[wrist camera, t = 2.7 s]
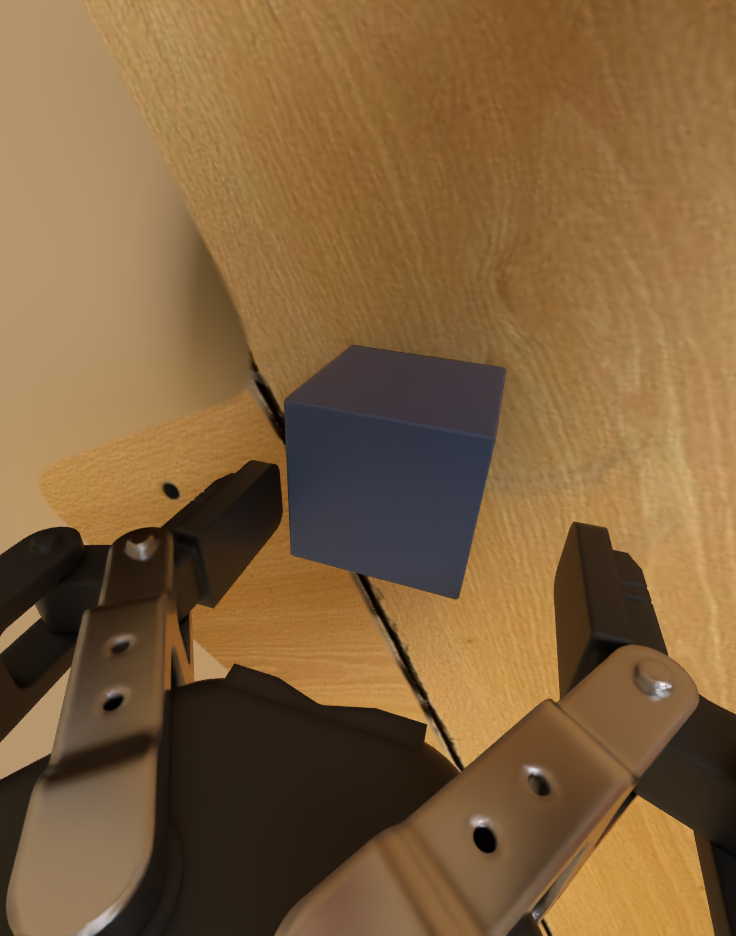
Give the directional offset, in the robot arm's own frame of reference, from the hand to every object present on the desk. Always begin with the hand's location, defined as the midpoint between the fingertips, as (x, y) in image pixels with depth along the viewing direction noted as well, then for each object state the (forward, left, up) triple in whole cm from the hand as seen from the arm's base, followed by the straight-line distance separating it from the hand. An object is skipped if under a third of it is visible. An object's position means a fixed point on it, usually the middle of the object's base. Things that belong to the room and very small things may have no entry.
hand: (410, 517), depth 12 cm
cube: (-1, -1, -4) cm, 4 cm away
